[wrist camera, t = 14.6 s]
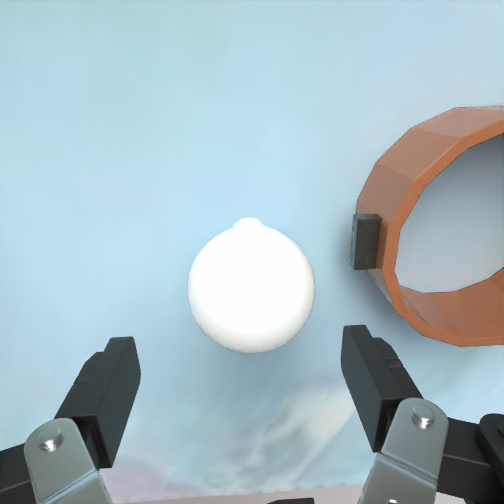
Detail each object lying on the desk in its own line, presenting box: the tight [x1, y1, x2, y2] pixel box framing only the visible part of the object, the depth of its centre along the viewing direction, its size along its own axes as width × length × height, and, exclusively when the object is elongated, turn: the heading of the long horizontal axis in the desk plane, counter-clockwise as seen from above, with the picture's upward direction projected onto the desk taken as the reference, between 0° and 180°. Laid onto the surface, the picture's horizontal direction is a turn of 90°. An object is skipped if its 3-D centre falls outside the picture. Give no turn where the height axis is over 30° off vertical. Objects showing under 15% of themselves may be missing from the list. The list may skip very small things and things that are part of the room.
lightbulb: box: [187, 217, 315, 353], centre depth 19 cm, size 6×6×11 cm
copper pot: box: [350, 106, 504, 347], centre depth 22 cm, size 16×14×6 cm
